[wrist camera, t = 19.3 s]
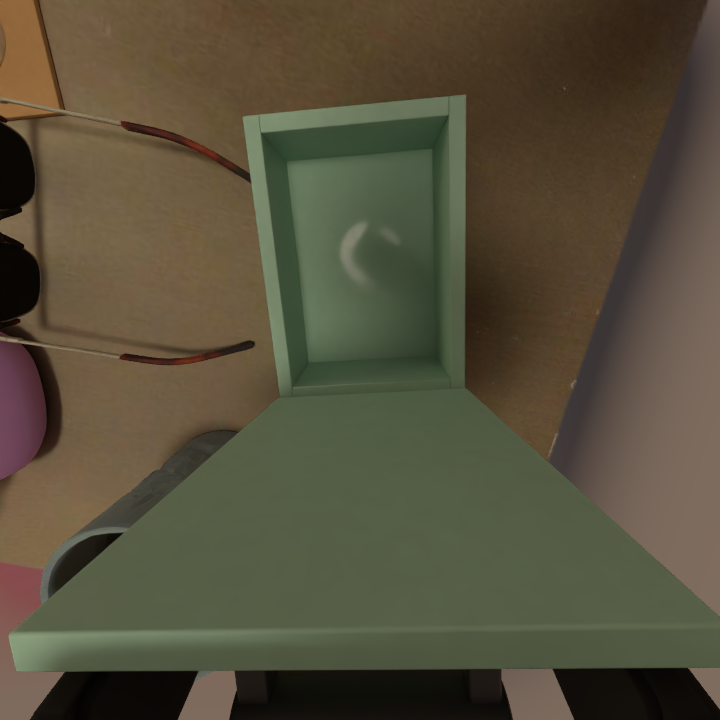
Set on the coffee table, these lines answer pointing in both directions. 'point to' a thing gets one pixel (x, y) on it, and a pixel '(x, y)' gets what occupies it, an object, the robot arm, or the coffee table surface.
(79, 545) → the grey textured cup
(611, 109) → the coffee table surface
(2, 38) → the cylinder
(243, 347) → the sunglasses
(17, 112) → the mat
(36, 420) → the teapot
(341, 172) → the green open box
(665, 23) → the coffee table surface
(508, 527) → the green box lid
